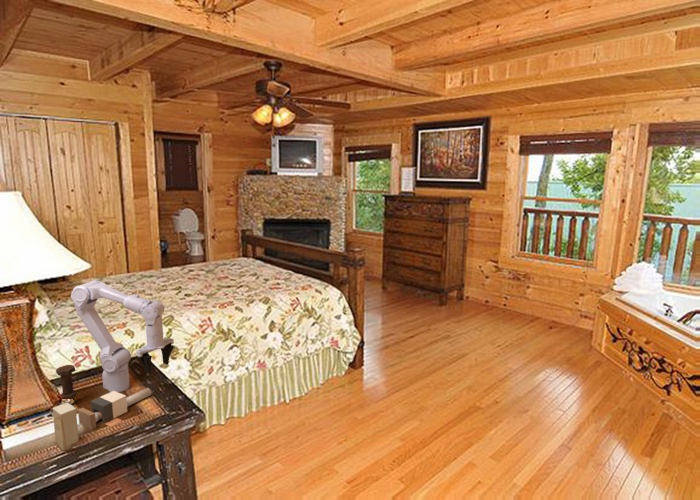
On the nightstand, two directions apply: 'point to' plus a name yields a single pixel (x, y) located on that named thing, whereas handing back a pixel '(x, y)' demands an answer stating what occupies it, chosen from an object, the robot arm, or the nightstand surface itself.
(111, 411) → the dark grey block
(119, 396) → the sleeve
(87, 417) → the pipe clamp
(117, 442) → the nightstand surface
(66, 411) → the skincare box
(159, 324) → the robot arm
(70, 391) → the bolt
